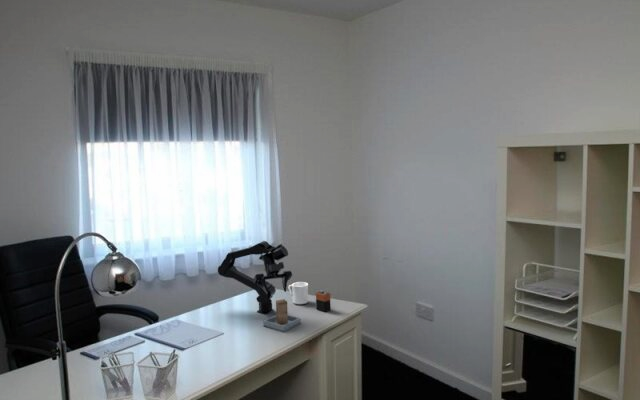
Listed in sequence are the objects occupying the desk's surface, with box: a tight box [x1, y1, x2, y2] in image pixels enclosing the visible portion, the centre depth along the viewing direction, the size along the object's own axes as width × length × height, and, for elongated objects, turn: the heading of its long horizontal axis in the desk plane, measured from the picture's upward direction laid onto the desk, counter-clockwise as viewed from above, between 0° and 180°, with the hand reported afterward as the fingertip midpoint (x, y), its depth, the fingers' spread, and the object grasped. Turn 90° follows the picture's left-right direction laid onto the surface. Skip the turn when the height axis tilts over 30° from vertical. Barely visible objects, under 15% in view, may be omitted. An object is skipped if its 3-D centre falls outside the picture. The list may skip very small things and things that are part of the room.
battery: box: [315, 289, 331, 313], centre depth 242 cm, size 4×7×10 cm, turn 44°
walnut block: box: [275, 298, 289, 325], centre depth 223 cm, size 4×4×11 cm
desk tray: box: [262, 314, 302, 332], centre depth 224 cm, size 13×13×2 cm
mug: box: [287, 281, 309, 306], centre depth 254 cm, size 11×9×10 cm
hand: (276, 292), depth 229 cm, fingers open, 9 cm apart
